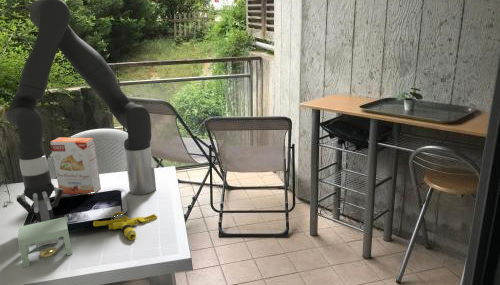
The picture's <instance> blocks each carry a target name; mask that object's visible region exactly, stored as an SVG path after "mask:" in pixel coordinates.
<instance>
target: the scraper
mask: <svg viewBox="0 0 500 285" xmlns="http://www.w3.org/2000/svg"><path fill="white" fill-rule="evenodd" d="M38 207H39V211H40V216H41V221H42V222H44V221H48V220H50V217H49V212H48V207H47V204H46V203H45V200H41V201H38ZM59 238H60V237H59ZM59 238H55V239H51V240H47V241H43V242H39V243H35V247H41V246H45V245H49V244H54V243H57V242H60V241H59V240H60V239H59Z"/></svg>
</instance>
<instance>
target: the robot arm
mask: <svg viewBox="0 0 500 285" xmlns="http://www.w3.org/2000/svg"><path fill="white" fill-rule="evenodd" d="M28 11H29V17H30V20H31V21H32V23H33V25H34V26H35V27H36V28H37V29H38V30H37V35H36V39H35V42H34V45H33V46H32V49H31V51H30V53H29V55H28V56H27V59H26V61H25V63H24V65H23V68H22V72H21V75H20V79H19V82H18V87H17V91H16V93H15V94H14V96H13V98H12V101H11V102H10V105H9V107H8V110H7V121H8V123H9V124H10V125H11V127H14V128H16V129H17V130H18V137H19V138H18V140H17V141H16V149H17V154H18V159H19V168H20V173H21V178H22V181H23V187H24V190H23V193H21V194H19V195H16V202H17V203H18V204H19V205H20V206H21V207H22V208H23V209H24V210H25V211H27V213H34V215H35V220H36V223H39V222H42V221H41V216H40V211H39V207H38V201H41V200H45V203H46V204H47V207H48V212H49V217H50V220H53V219H54V211H53V209H54V208H57V207H58V206H59V203H60V201H61V199H62V195H63V194H64V193H63V188H62V187H55V185H54V183H53V182H52V178H51V173H50V167H49V161H48V159H47V156H46V152H45V146H44V142H43V141H44V140H43V139H44V123H43V118H42V114H41V113H40V112H39V111H38V109H37V108H36V106H37V103H38V101H40V100H43V99H44V96H45V94H46V89H47V86H48V83H49V77H50V74H51V69H52V67H53V63H54V60H55V58H56V56H57V52H58V50H59V51H60V52H61V54H62V55H63V56H64V57H65V58H66V60H67V61H68V62H69V64H70V65H71V66H72V67H73V69H75V71H76V72H77V73H78V74H79V76H80V77H81V78H82V79H83V80H84V81H85V83H86V84H87V85H88V86H89V88H90V89H92V90H93V91H94V92H95V94H96V95H97V96H98V97H99V98H100V99H101V100H102V101H103V102H104V103H105V104H106V106H107V108H109V110H110V111H111V113H112V114H113V116H114V118H115V119H116V120H117V122H118V123H119V124H120V125H121V126H122V127H124V128H126V129H127V130H126V131H127V138H126V139H125V140H124V142H123V146H124V154H125V155H124V156H125V162H126V163H125V164H126V172H127V178H128V180H127V181H128V187H129V192H130V194H132V195H136V196H137V195H139V196H140V195H141V196H142V195H146V194H150V193H152V192H154V191H156V190H157V184H156V176H155V175H156V174H155V173H156V172H155V167H154V165H153V159H152V150H151V140H152V121H151V120H152V118H151V115H150V112H149V110H148V109H147V108H146V107H145V106H143V105H141V104H138V103H134V102H133V101H132V100H130V99H129V97H128V96H127V95H126V94H125V93H124V92H123V90H122V89H121V86H119V82H118V80H117V77H116V75H115V72H114V71H113V69H112V67H111V66H110V65H109V64H108V63H107V61H106V60H105V59H104V57H103V56H102V55H101V54H100V53H99V52H98V51H97V50H96V49H94V48H93V47H92V46H91V45H89V43H87V42H86V41H84V40H83V39H81V37H79V36H78V35H77V33H75V31H74V30H73V28H71V26H70V25H69V24H70V21H71V11H70V7H69V6H68V5H67V3H66V2H64V1H63V0H35V1H33V2H32V3H31V5H30V6H29V10H28ZM53 193H54V194H55V196H54V200H53V201H52V202H51V199H50V197H51V196H52V194H53ZM27 198H28V199H29V200H30V201H32V203H33V206H32V205H30V203H29V202H28V201H27Z"/></svg>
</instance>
